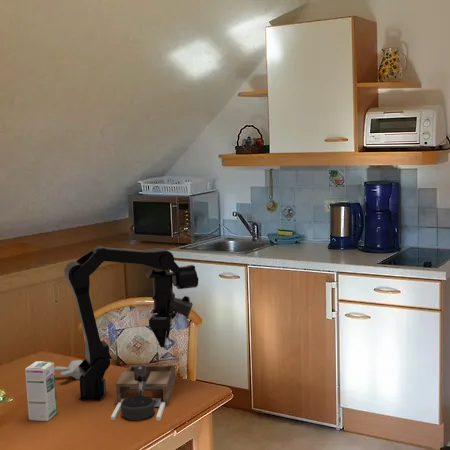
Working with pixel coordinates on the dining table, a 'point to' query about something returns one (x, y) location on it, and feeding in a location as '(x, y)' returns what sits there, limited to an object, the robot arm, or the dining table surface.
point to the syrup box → (41, 391)
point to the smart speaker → (137, 407)
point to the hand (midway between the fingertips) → (164, 342)
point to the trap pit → (146, 387)
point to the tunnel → (148, 380)
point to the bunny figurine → (70, 369)
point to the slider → (140, 377)
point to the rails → (120, 408)
